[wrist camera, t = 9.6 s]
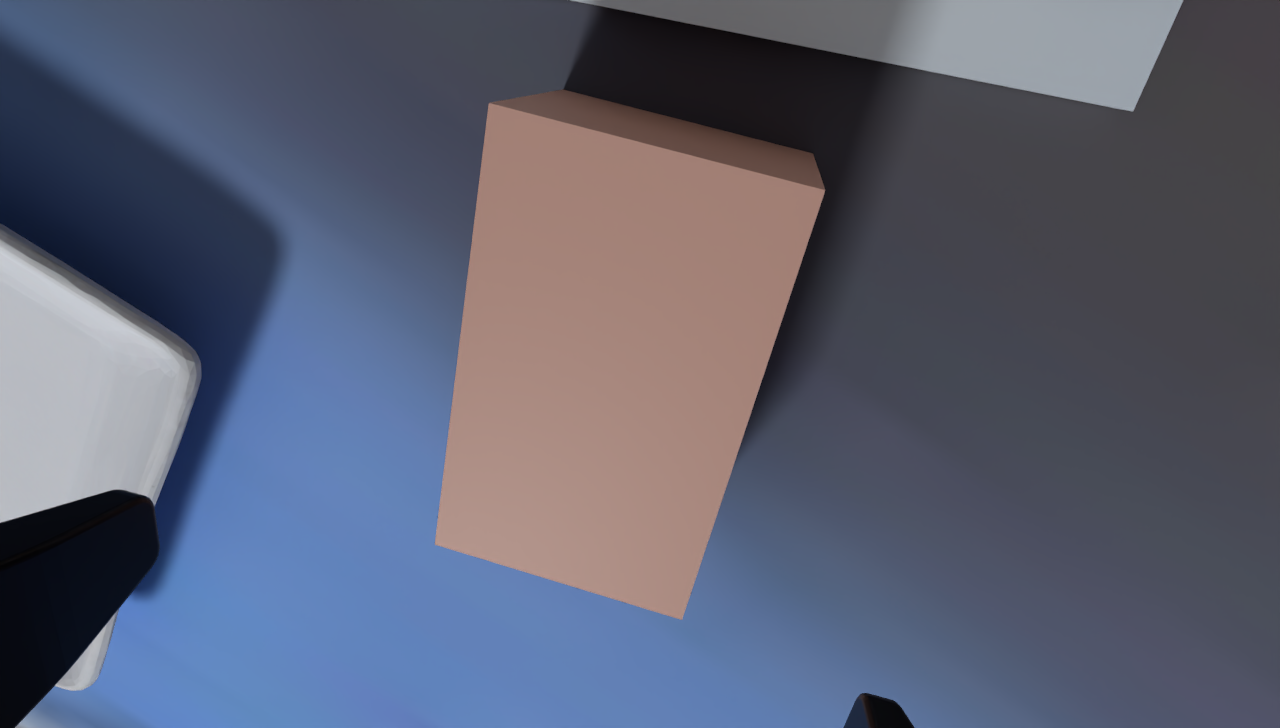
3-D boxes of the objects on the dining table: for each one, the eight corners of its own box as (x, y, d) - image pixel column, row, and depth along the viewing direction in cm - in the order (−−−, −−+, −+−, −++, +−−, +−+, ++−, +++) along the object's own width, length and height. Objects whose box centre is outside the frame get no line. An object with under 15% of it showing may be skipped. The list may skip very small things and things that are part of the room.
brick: (565, 89, 17) (488, 103, 12) (812, 152, 17) (825, 190, 12) (507, 439, 21) (434, 544, 17) (702, 496, 21) (682, 619, 16)
